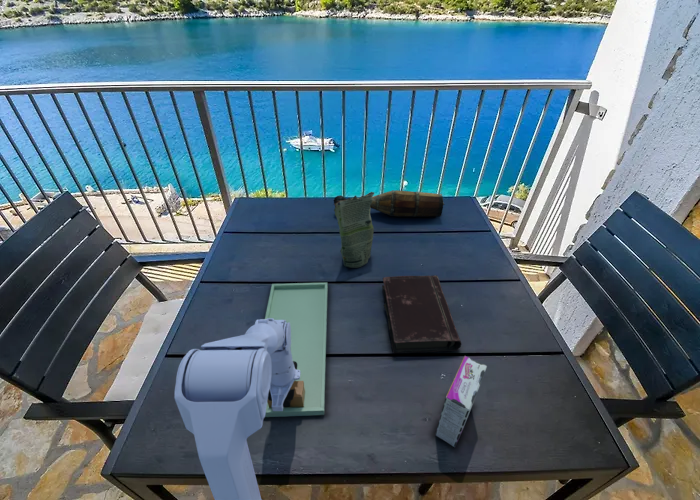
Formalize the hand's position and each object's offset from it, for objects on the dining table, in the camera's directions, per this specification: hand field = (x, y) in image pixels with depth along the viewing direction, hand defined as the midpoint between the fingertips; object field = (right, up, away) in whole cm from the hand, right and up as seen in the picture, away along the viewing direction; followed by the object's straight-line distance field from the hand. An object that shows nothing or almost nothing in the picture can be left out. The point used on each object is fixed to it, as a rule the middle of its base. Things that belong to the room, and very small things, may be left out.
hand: (286, 396), depth 81 cm
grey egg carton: (+38, -5, -2) cm, 38 cm away
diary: (+34, +14, +21) cm, 43 cm away
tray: (-1, +9, +15) cm, 17 cm away
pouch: (+17, +31, +43) cm, 55 cm away
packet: (0, -1, +1) cm, 1 cm away
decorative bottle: (+30, +49, +65) cm, 87 cm away
